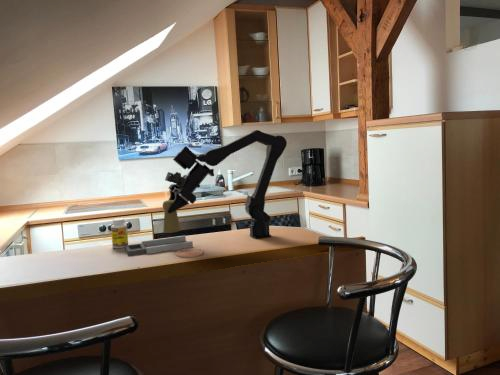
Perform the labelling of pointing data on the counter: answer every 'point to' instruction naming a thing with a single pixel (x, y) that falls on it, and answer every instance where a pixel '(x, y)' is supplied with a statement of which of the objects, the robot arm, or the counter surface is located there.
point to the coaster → (190, 252)
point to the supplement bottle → (119, 233)
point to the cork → (170, 218)
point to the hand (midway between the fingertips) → (166, 211)
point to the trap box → (135, 249)
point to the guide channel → (168, 246)
